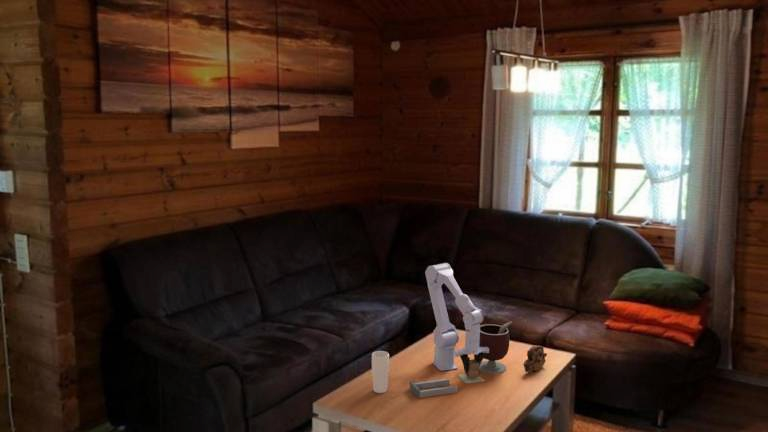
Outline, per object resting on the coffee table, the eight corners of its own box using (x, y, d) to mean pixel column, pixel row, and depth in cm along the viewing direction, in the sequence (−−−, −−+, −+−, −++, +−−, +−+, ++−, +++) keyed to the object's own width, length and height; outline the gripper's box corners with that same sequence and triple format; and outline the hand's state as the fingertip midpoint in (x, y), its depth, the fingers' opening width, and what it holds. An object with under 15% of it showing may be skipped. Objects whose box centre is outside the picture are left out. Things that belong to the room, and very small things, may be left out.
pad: (457, 375, 259) (457, 374, 259) (475, 373, 262) (475, 372, 262) (466, 383, 252) (466, 382, 252) (484, 381, 254) (484, 380, 254)
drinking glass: (391, 388, 246) (391, 352, 244) (385, 395, 240) (386, 358, 238) (374, 385, 249) (375, 349, 246) (368, 392, 242) (369, 355, 240)
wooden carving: (532, 377, 259) (533, 354, 257) (522, 374, 262) (523, 351, 260) (548, 365, 272) (549, 343, 270) (538, 362, 274) (539, 340, 273)
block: (465, 374, 257) (465, 360, 256) (474, 373, 258) (474, 359, 257) (469, 378, 253) (470, 364, 252) (478, 377, 255) (479, 363, 254)
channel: (409, 389, 246) (409, 381, 246) (448, 383, 251) (448, 376, 251) (417, 397, 239) (417, 389, 238) (456, 392, 244) (457, 384, 243)
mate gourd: (483, 376, 259) (485, 329, 256) (469, 363, 272) (471, 318, 269) (517, 372, 263) (519, 326, 260) (502, 359, 276) (504, 316, 273)
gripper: (460, 344, 248) (459, 377, 250) (493, 340, 253) (491, 372, 255) (452, 338, 255) (451, 370, 257) (484, 334, 259) (483, 365, 261)
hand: (471, 370), depth 256 cm, fingers closed on block, 4 cm apart
